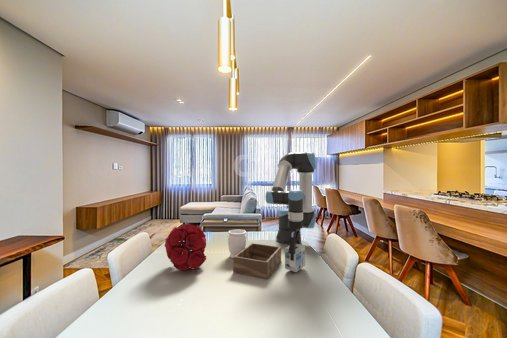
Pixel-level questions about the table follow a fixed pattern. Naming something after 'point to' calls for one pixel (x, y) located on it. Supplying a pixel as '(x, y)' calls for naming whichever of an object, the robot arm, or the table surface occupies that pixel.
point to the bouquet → (186, 247)
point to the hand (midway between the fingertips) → (295, 261)
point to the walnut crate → (257, 260)
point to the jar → (236, 241)
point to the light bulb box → (298, 258)
